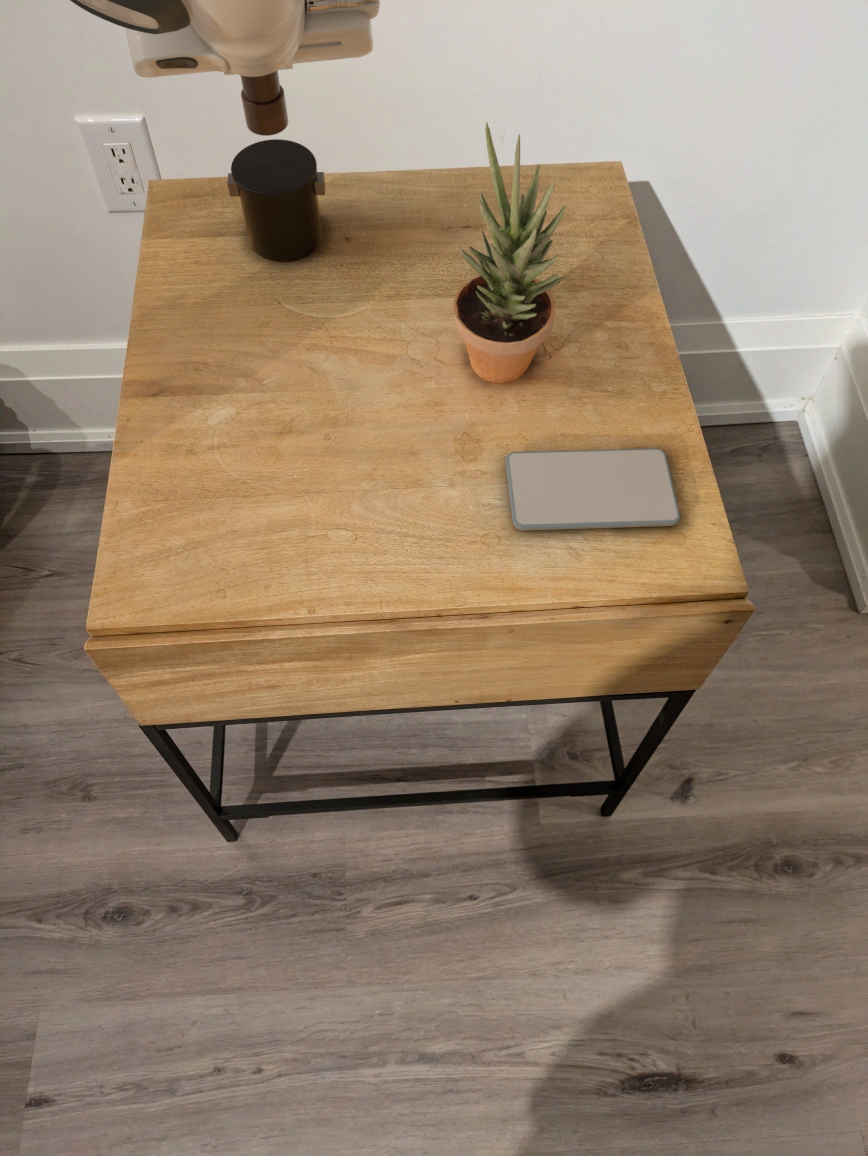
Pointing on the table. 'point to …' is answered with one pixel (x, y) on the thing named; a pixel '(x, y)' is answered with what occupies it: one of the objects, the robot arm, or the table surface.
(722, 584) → the table surface
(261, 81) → the walnut pestle
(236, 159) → the black cooking pot
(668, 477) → the smartphone
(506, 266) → the potted plant
